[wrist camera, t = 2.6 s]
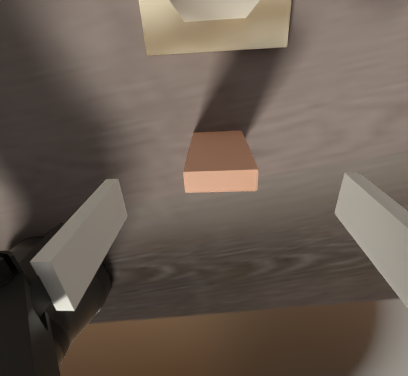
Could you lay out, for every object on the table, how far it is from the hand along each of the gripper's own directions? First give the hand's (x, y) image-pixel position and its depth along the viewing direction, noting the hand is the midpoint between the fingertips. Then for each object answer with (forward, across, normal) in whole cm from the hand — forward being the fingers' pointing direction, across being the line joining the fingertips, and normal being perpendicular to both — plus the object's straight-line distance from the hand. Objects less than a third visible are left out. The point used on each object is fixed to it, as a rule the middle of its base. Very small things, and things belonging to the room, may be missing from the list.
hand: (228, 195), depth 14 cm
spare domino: (+12, +1, 0) cm, 12 cm away
